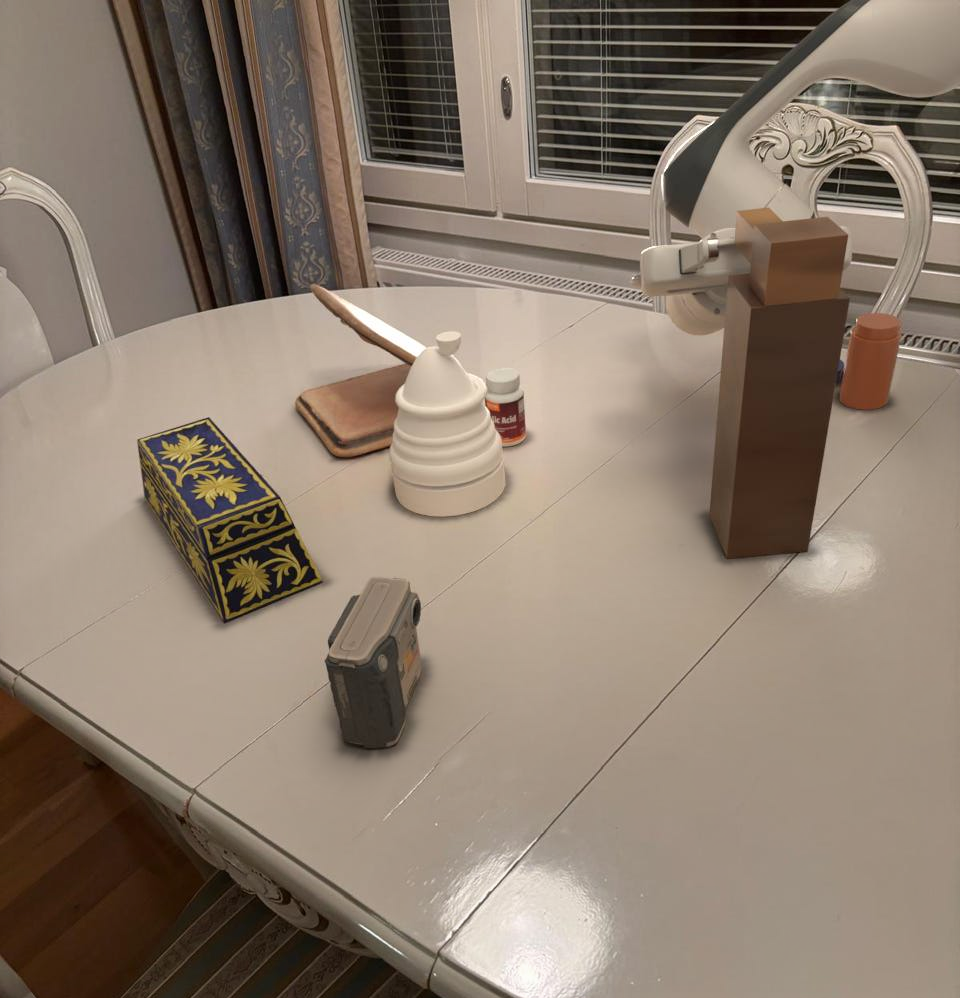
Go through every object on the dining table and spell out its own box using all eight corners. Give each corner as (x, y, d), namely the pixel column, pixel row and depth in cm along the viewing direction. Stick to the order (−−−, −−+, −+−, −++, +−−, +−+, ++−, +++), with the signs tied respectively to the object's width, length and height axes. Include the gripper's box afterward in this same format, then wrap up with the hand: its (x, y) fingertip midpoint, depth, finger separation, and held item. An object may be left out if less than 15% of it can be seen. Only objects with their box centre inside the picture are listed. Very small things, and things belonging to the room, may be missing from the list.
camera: (395, 756, 74) (374, 664, 68) (330, 746, 76) (304, 655, 69) (437, 663, 82) (423, 574, 76) (378, 656, 84) (359, 568, 78)
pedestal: (708, 515, 97) (728, 275, 81) (785, 508, 96) (819, 265, 80) (726, 559, 90) (751, 307, 74) (808, 551, 90) (850, 297, 74)
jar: (896, 397, 113) (913, 317, 106) (872, 414, 110) (888, 333, 104) (854, 385, 116) (868, 308, 110) (830, 401, 113) (843, 323, 107)
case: (490, 419, 118) (479, 294, 108) (338, 465, 112) (310, 338, 102) (429, 366, 133) (414, 252, 123) (291, 404, 127) (263, 288, 117)
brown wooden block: (718, 246, 87) (722, 189, 83) (781, 239, 86) (788, 182, 83) (764, 306, 74) (771, 242, 71) (838, 299, 74) (848, 234, 71)
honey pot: (520, 464, 109) (509, 314, 97) (483, 522, 100) (467, 365, 88) (421, 454, 113) (399, 309, 101) (377, 509, 104) (348, 357, 92)
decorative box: (224, 623, 90) (197, 547, 84) (144, 498, 111) (119, 431, 105) (324, 582, 94) (305, 507, 88) (229, 469, 114) (208, 403, 109)
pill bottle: (484, 447, 113) (478, 382, 107) (493, 428, 116) (487, 365, 111) (522, 448, 112) (517, 383, 106) (529, 429, 115) (526, 366, 110)
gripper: (625, 255, 97) (646, 217, 83) (821, 234, 96) (874, 192, 82) (629, 317, 98) (650, 290, 84) (823, 296, 97) (875, 266, 83)
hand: (763, 242), depth 83 cm, fingers open, 8 cm apart
